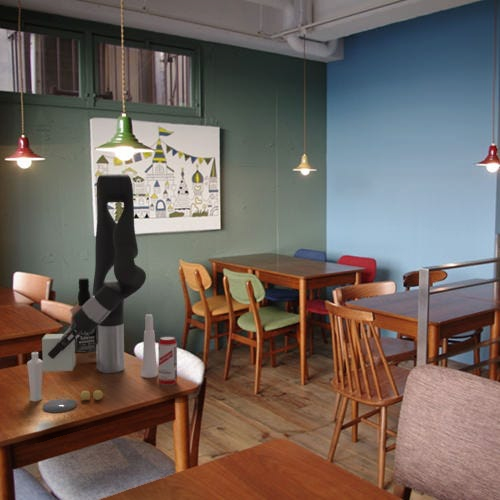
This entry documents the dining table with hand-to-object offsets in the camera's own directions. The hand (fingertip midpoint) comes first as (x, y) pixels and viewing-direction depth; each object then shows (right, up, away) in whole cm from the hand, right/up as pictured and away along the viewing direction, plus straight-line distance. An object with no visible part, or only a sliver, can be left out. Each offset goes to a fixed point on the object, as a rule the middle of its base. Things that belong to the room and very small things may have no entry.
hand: (52, 353), depth 171 cm
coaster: (+2, -16, +2) cm, 17 cm away
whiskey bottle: (-4, -12, +49) cm, 51 cm away
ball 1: (+8, -16, +7) cm, 19 cm away
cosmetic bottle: (+24, -14, +32) cm, 42 cm away
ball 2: (+12, -16, +8) cm, 21 cm away
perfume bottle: (-8, -16, +8) cm, 19 cm away
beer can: (+31, -15, +23) cm, 42 cm away
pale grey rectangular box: (+2, -5, +1) cm, 5 cm away
